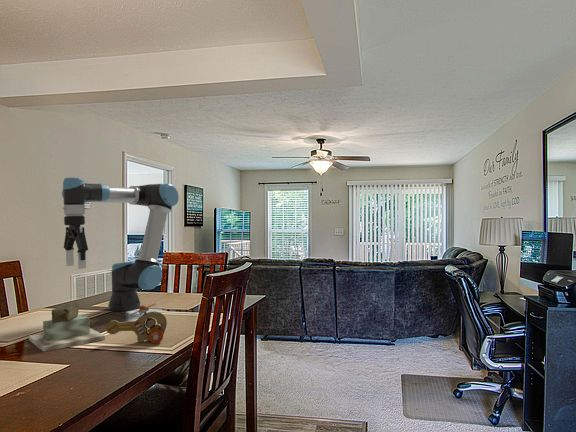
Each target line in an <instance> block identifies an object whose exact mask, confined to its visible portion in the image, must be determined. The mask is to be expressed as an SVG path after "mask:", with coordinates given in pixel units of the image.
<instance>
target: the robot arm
mask: <svg viewBox="0 0 576 432" xmlns="http://www.w3.org/2000/svg"><path fill="white" fill-rule="evenodd" d="M62 181H63V182H62V192H61V196H62V198H63V207H62V210H63V214H64V217H63V220H64V221H63V224H64V226H66V227H65V237H64V240H63V241H64V243H63V249H65V263H66V264H65V266H66V267H72V266H73V267H74V266H75V262H74V261H75V259H74V258H75V257H74V250H75V248H74V245H75V243H76V247H77V249H78V250H77V251H76V253H77V266H78V267H77V269H78V270H80V269H82V270H83V269H87V260H86V259H87V255H86V252H87V251H88V250H89V248H88V242H87V237H86V234H85V232H86V231H85V227H84V226H83V225H85V224H86V217H85V213H86V212H85V209H86V208H85V203H123V204H124V203H126V204H129V205H135V206H142V207H147V208H148V210H149V213H148V218H147V221H146V227H145V231H144V236H143V240H142V243H141V244H142V245H141V248H140V253H139V257H137V258H135V259H134V261H133V260H132V261H124V262H116V263H113V264H112V266H111V271H110V273H111V296H110V298H109V301H108V304H107V310H108V311H112V312H126V311H133V310H137V309H139V308H140V306H141V300H140V298H139V297H140V296H139V295H138V292H137V291H138V289H139V290H144V291H145V290H146V291H147V290H153V289H155V288H157V286H159V285H160V283H161V281H162V279H163V272H162V268H161V267H160V262H159V260H158V258H159V254H160V248H161V244H162V241H163V240H162V239H163V235H164V231H165V226H166V222H167V216H168V214H170V213H171V212H172V208H173V207H174V206H176V205H177V204H178V203H179V198H180V197H179V191H178V189H177V188H176V187H175V185H174V184H171V183H165V182H163V183H155V184H154V183H153V184H151V183H149V184H143V185H131V186H128V187H120V186H119V187H118V186H117V187H116V186H108V185H107V184H104V183H102V184H101V183H85V181H84V178H82V177H66V178H64V179H63V180H62ZM81 226H82V227H81Z"/></svg>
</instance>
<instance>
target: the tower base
mask: <svg viewBox="0 0 576 432" xmlns="http://www.w3.org/2000/svg"><path fill="white" fill-rule="evenodd" d="M90 318H91V317H89V316H87V315H86V314H82V315H81V314H80V315H78V316H76V317H74V318H73V319H71V320H69V321H63V322H57V323H56V322H52V319H49V320H43V321H42V322H43V323H42V333H36V334H32V335H28V341H29V342H31V343H32V344H33V345H34V346H36V347H37V348H38V349H39V350H40V351H42V352H43V353H44V352H50V351H55V350H60V349H64V348H65V349H66V348H69V347H75V346H79V345H85V344H90V343H95V342H100V340H101V341H105V340H106V335H105V334H103V333H100V331H97V330H95V329H94V328H92V327H91V325H90V324H91V323H90V322H91V320H90ZM104 339H105V340H104Z"/></svg>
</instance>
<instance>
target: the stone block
mask: <svg viewBox="0 0 576 432" xmlns="http://www.w3.org/2000/svg"><path fill="white" fill-rule="evenodd" d="M79 305H80V304H79V303H68V304H67V303H66V304H62V305H59V306H58V307H56V308H53V309H51V320H52V322H56V323H57V322H63V321H69V320H71V319H73V318H74V317H76V316H79V309H80V306H79Z"/></svg>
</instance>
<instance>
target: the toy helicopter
mask: <svg viewBox="0 0 576 432" xmlns="http://www.w3.org/2000/svg"><path fill="white" fill-rule="evenodd" d="M155 305H157V304H156V302H155V303H152V304H150V305H147V306H146V305H140V308H138V310H137V311H134V312H132V313H131V314H130V316H133V315H135V314H137V313H138V314H139V315H140V316H139V317H138V318H137V319H136V320H133V321H124V322H123V321H122V322H120V321H118V320H116V319H112V320H110V321H109V322H107V323H106V325H105V330H106V332H107V334H110V335H116V334H118V333H119V332H133V333H135V335H136V336H137V338H136V339H137V342H138V343H143V342H144V341H149V342H150V343H152V344H156V343H157V344H160V343H161V342H162V341H163V339H164V335H165V332H166V329H167V326H168V325H167V324H168V322H167V321H168V320H167V318H166V316H165V315H164V314H163V313H162V312H159V311H150V308H151V307H153V306H155ZM149 311H150V312H149Z"/></svg>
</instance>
